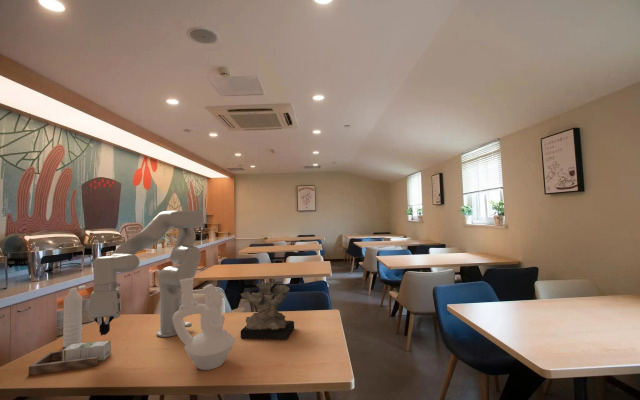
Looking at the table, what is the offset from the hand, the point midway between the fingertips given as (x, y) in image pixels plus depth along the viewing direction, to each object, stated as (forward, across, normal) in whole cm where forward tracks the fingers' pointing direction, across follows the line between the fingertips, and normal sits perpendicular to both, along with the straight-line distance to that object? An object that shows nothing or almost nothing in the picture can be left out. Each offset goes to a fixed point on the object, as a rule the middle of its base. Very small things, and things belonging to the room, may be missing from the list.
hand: (104, 333), depth 120 cm
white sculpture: (+10, -40, +18) cm, 45 cm away
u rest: (+10, +10, 0) cm, 14 cm away
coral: (+10, -65, -8) cm, 66 cm away
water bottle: (+10, +20, -22) cm, 31 cm away
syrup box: (+7, -1, -1) cm, 7 cm away
